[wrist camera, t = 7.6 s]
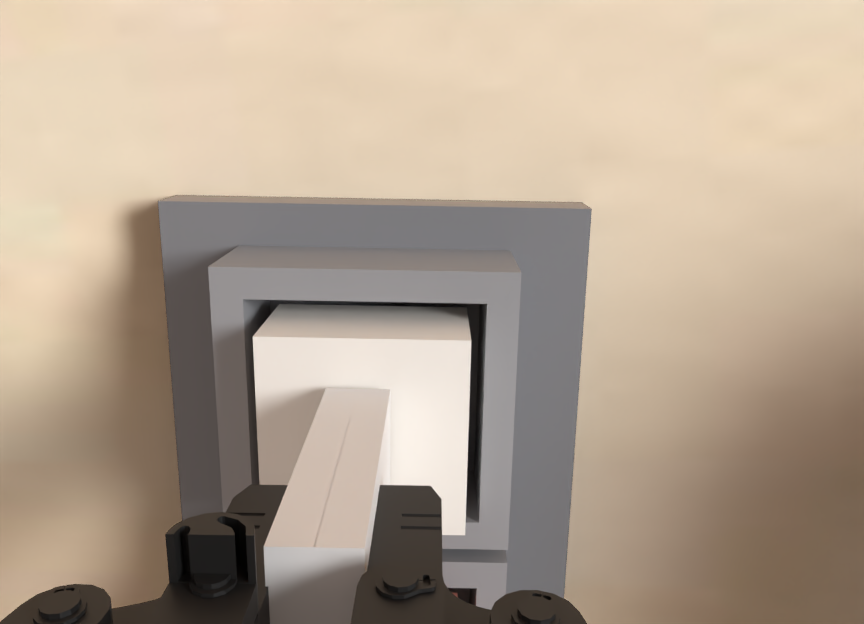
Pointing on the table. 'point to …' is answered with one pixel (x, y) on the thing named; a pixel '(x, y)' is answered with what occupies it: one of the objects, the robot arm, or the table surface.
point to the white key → (370, 369)
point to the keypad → (394, 286)
